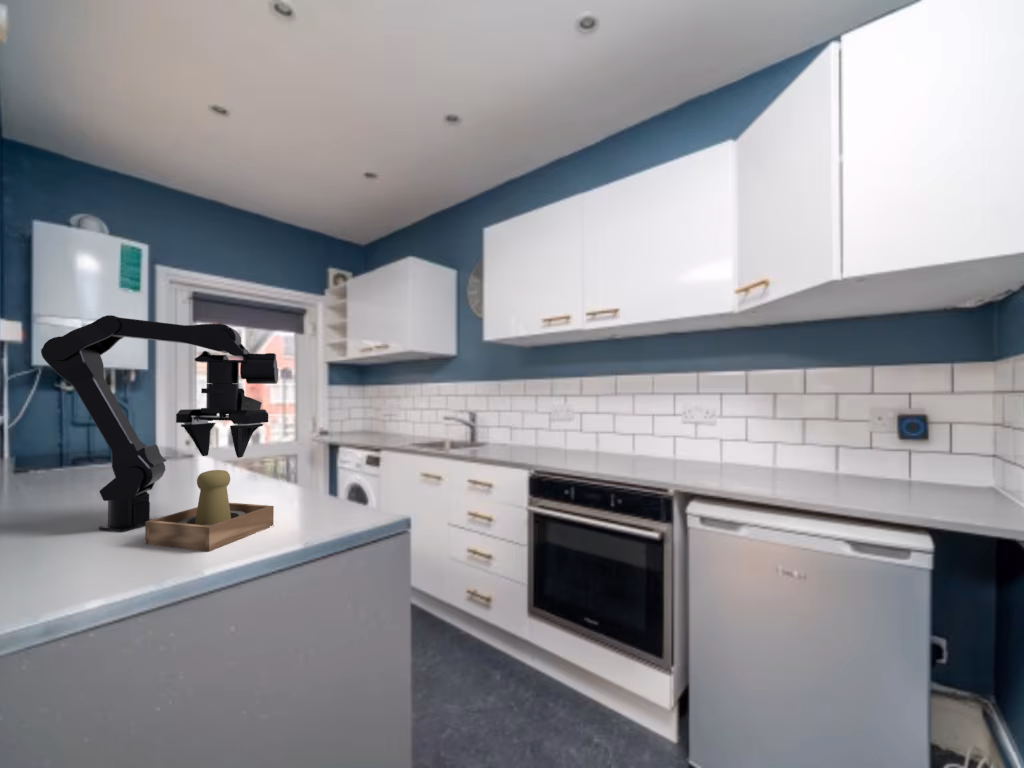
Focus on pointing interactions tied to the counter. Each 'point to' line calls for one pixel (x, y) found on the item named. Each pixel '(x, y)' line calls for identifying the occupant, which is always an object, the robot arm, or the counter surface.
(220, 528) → the socket box
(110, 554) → the counter surface
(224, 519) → the olive knobbed peg
